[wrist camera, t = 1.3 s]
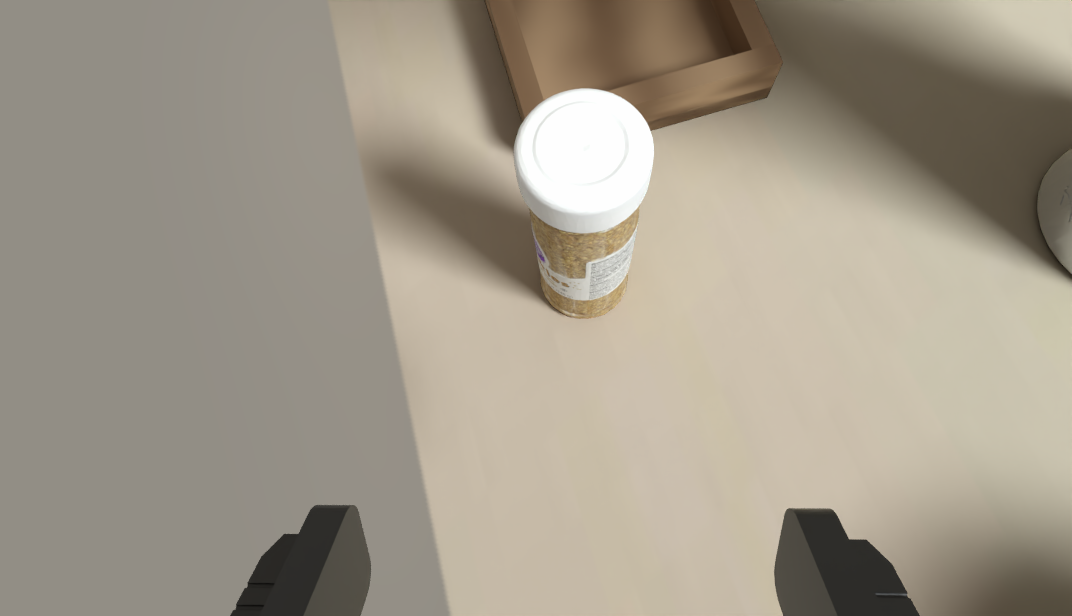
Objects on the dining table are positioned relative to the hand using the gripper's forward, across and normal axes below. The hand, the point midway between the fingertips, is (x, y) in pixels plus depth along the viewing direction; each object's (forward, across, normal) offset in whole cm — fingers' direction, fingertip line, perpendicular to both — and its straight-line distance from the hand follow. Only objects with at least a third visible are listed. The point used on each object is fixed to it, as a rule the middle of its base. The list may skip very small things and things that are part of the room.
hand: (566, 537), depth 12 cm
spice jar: (+21, -1, +5) cm, 22 cm away
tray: (+32, -3, -6) cm, 32 cm away
